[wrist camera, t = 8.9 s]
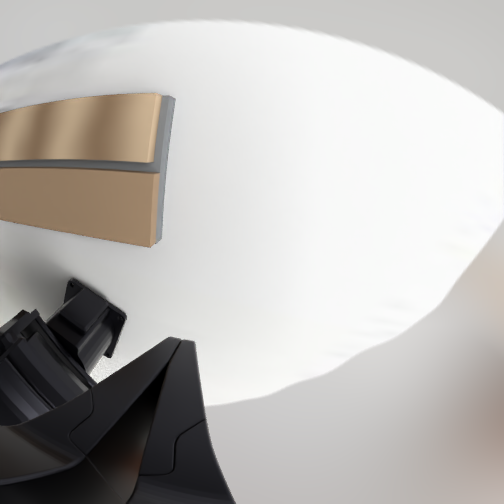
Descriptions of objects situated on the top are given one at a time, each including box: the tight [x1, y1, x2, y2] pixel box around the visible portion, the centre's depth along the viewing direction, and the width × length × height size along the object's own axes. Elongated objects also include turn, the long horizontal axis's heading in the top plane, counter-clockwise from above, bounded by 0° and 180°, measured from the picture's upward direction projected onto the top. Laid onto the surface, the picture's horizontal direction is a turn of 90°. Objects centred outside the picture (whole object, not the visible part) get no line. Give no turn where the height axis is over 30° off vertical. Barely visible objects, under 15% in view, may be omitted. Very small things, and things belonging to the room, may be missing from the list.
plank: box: [0, 93, 162, 163], centre depth 16 cm, size 19×4×1 cm, turn 81°
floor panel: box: [0, 96, 175, 247], centre depth 17 cm, size 20×10×2 cm, turn 81°
